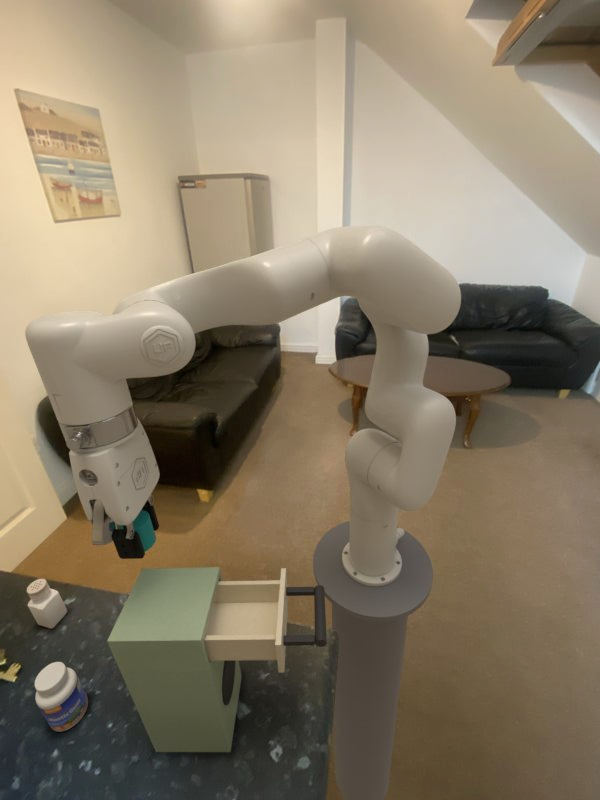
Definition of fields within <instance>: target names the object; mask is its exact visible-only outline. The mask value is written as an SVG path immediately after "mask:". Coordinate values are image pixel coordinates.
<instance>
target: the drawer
mask: <svg viewBox="0 0 600 800" xmlns="http://www.w3.org/2000/svg"><path fill="white" fill-rule="evenodd" d="M279 577H280V578H279V579H275V580H273V579H272V580H271V579H269V580H222V581H218V585H217V589H216V593H215V597H214V601H213V605H212V609H211V613H210V617H209V621H208V625H207V629H206V633H205V637H204V640H203V641H204V644H205V648H206V652H207V656H208V660H209V661H224V660H239V661H276V662H277V671H278V672H277V673H278V674H279V673H281V674H283V673H285V666H286V649H287V647H289V646H290V647H293V646H294V647H297V646H299V647H301V646H304V647H305V646H309V647H310V646H317V647H318V648H319V647H320V648H323V647H326V646H327V643H328V639H327V619H326V597H325V592H324V587H323V586H322V585H318V584H317V585H315V586H289V585H288V576H287V567H282V568H280V575H279ZM301 596H302V597H303V596H304V597H305V596H307V597H308V596H313V600H314V601H313V602H314V607H313V608H314V609H313V610H314V634H306V635H305V634H291V635H289V634H287V631H288V630H287V627H288V610H289V597H301Z"/></svg>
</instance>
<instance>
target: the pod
mask: <svg viewBox="0 0 600 800" xmlns="http://www.w3.org/2000/svg"><path fill="white" fill-rule="evenodd" d="M132 523H133V528H134V532H138V533H139V536H140V539H141V542H142V545H143V548H144V551H145V552H147V551H149V550H150V549H151V548H152V547H153V546H154V545H155V543H156V541H157V535H156V533H155V531H154V529H153V525H152V522H151V519H150V516H149V513H148V512H146V511H144V510H141V511H140V513H139V514H138V516H137V517H136V518H135V520H134V521H133V522H132ZM116 529H123V525H117V524H116Z"/></svg>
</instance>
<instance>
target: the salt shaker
mask: <svg viewBox="0 0 600 800" xmlns="http://www.w3.org/2000/svg"><path fill="white" fill-rule="evenodd" d="M26 593H27V595H28V597H29V599H30V600H29V601H28V603H27V607H28V609H29V611H30V613H31V614H32V616H33V619H34V620H35V622H36V624H37V625H38V626H41V627H45V628H47V629H55V627H56V626H57V625H58V624H59V622H61V621H62V619H64V617H65V616H66V615H67V613H68V609H67V607H66V605H65V603H64V599H63V598H62V597H61V594H60V592H59V591H58V590H56V589H53V588H50V585H49V583H48V581H47V580H46V579H45V578H38V579H35V580H34V581H32V582H30V583H29V584H28V586H27V587H26Z"/></svg>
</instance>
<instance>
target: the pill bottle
mask: <svg viewBox="0 0 600 800" xmlns="http://www.w3.org/2000/svg"><path fill="white" fill-rule="evenodd" d="M34 688H35V690H36V692H35V695H34V697H35V699H34V700H35V703H36V705H37V707H38V708H39V711H40V712H41V713H42V715H43V717H44V718H45V720H46V722H47V723H48V725H49V727H50V728H51V729H52V730H53V731H54V732H65V731H66V732H67V731H68V730H70V729H72V728H73V727H74V726H76V725H77V724H78V723H79V722H81V720H82V718H83V717H84V715H85V714H86V711H87V709H88V705H89V698H88V695H87V692H86V690H85V689H84V686H83V683H81V680H80V679H79V676H78V674H77V673H76V671H75V670H74V669H73V668H72V667H67V666H66V664H65V663H64V662H62V661H54V662H51V663H49V664H48V665H45V667H43V668H42V669H41V670H40V672H39V673H38V674H37V676H36V677H35V680H34Z"/></svg>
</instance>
